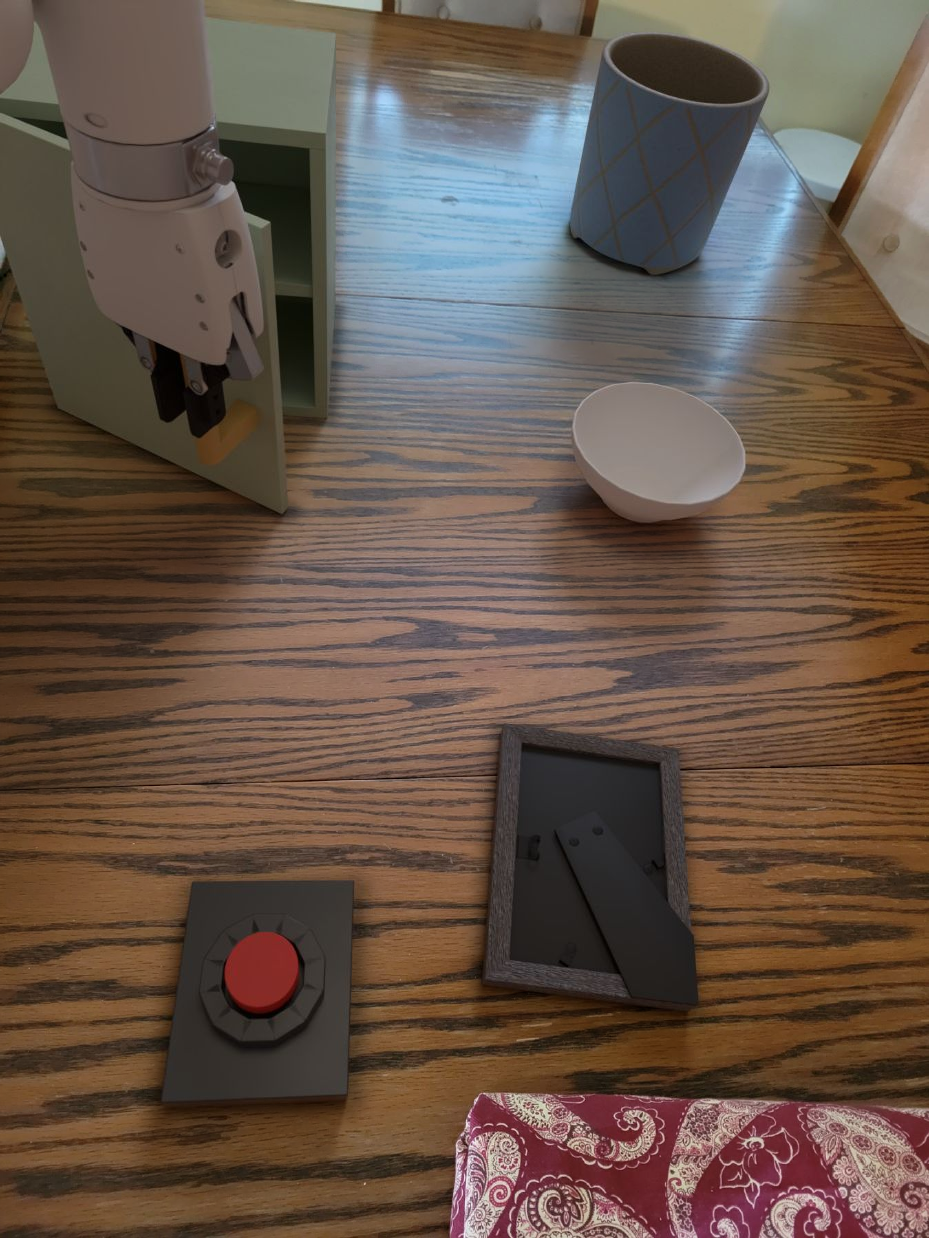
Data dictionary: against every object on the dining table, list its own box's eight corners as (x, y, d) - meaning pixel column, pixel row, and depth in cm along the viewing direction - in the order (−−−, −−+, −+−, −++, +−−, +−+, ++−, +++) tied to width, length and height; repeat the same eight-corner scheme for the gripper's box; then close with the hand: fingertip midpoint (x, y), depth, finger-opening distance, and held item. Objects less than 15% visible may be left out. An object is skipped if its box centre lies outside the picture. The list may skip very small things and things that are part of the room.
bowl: (743, 551, 78) (775, 498, 72) (581, 564, 74) (601, 509, 69) (684, 434, 87) (708, 379, 81) (537, 440, 83) (552, 383, 77)
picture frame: (687, 1011, 53) (671, 757, 64) (698, 1004, 51) (680, 745, 62) (481, 984, 52) (500, 733, 63) (486, 977, 51) (504, 720, 62)
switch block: (347, 1100, 48) (348, 1091, 45) (166, 1107, 46) (154, 1098, 43) (353, 890, 55) (354, 869, 52) (196, 892, 53) (187, 870, 50)
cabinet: (327, 418, 81) (325, 133, 60) (63, 401, 78) (-37, 93, 57) (335, 309, 92) (336, 33, 70) (103, 289, 88) (30, -5, 67)
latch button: (296, 1013, 47) (295, 1006, 45) (223, 1014, 46) (220, 1008, 45) (301, 939, 49) (300, 930, 48) (231, 940, 49) (228, 931, 47)
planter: (728, 239, 112) (794, 74, 96) (667, 298, 101) (730, 124, 85) (605, 184, 116) (649, 18, 100) (536, 235, 106) (572, 59, 90)
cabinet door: (242, 558, 70) (203, 271, 49) (9, 444, 74) (-119, 134, 53) (288, 507, 74) (270, 221, 53) (65, 402, 78) (-34, 98, 57)
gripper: (313, 172, 45) (318, 434, 59) (78, 78, 48) (139, 349, 62) (226, 231, 40) (255, 497, 55) (-26, 123, 43) (66, 403, 58)
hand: (193, 417), depth 59 cm, fingers closed on cabinet door, 2 cm apart
